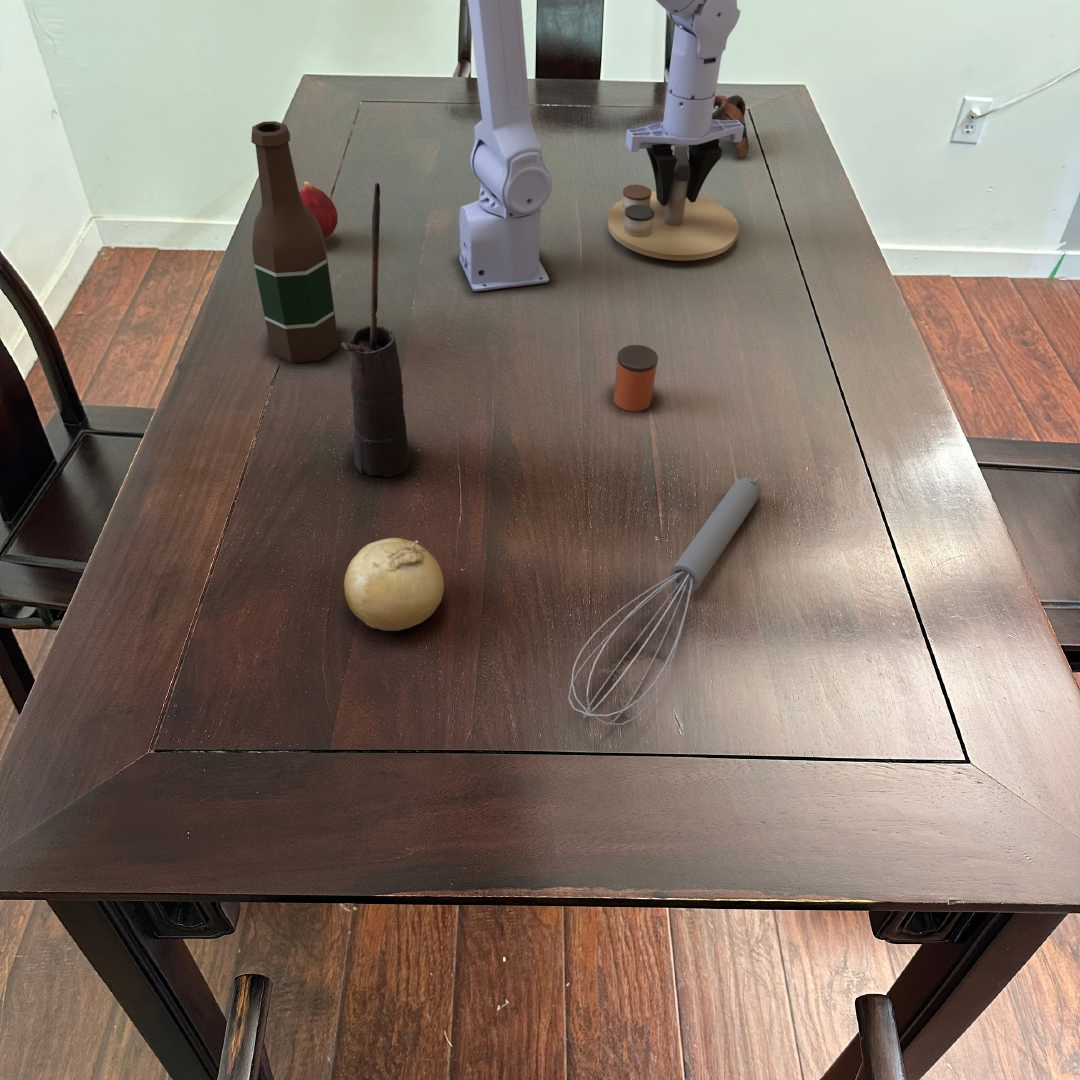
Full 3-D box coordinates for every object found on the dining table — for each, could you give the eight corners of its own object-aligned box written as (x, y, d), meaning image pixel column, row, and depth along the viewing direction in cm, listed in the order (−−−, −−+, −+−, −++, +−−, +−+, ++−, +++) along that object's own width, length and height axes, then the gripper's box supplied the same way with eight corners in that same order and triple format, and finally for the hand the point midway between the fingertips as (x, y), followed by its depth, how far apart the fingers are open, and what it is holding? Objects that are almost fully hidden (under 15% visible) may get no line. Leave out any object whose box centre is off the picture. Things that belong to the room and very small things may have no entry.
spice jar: (620, 414, 100) (625, 370, 96) (607, 391, 103) (612, 347, 99) (657, 408, 101) (664, 365, 97) (643, 385, 103) (649, 342, 100)
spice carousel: (745, 263, 120) (760, 190, 113) (609, 258, 120) (616, 184, 113) (729, 199, 132) (741, 129, 125) (605, 194, 132) (611, 124, 125)
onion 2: (378, 660, 77) (370, 602, 72) (331, 598, 81) (320, 539, 76) (462, 616, 80) (460, 558, 75) (413, 558, 85) (408, 500, 80)
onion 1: (345, 233, 124) (338, 173, 118) (334, 256, 120) (326, 194, 114) (301, 230, 124) (291, 169, 119) (288, 252, 120) (277, 191, 115)
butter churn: (338, 510, 89) (292, 228, 69) (315, 446, 95) (266, 170, 75) (434, 487, 91) (416, 208, 71) (405, 426, 97) (382, 154, 77)
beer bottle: (326, 369, 104) (293, 149, 86) (258, 359, 104) (211, 138, 87) (350, 330, 109) (323, 114, 92) (285, 320, 110) (246, 105, 93)
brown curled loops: (739, 171, 141) (718, 120, 136) (685, 181, 148) (664, 133, 143) (771, 122, 146) (752, 72, 141) (718, 134, 153) (698, 86, 148)
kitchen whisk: (783, 496, 92) (798, 445, 87) (621, 761, 71) (629, 713, 67) (724, 473, 94) (735, 422, 89) (550, 724, 73) (553, 675, 69)
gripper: (734, 73, 118) (716, 180, 127) (622, 82, 114) (612, 191, 124) (758, 95, 113) (737, 205, 123) (642, 105, 110) (630, 217, 120)
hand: (676, 200), depth 123 cm, fingers open, 3 cm apart
